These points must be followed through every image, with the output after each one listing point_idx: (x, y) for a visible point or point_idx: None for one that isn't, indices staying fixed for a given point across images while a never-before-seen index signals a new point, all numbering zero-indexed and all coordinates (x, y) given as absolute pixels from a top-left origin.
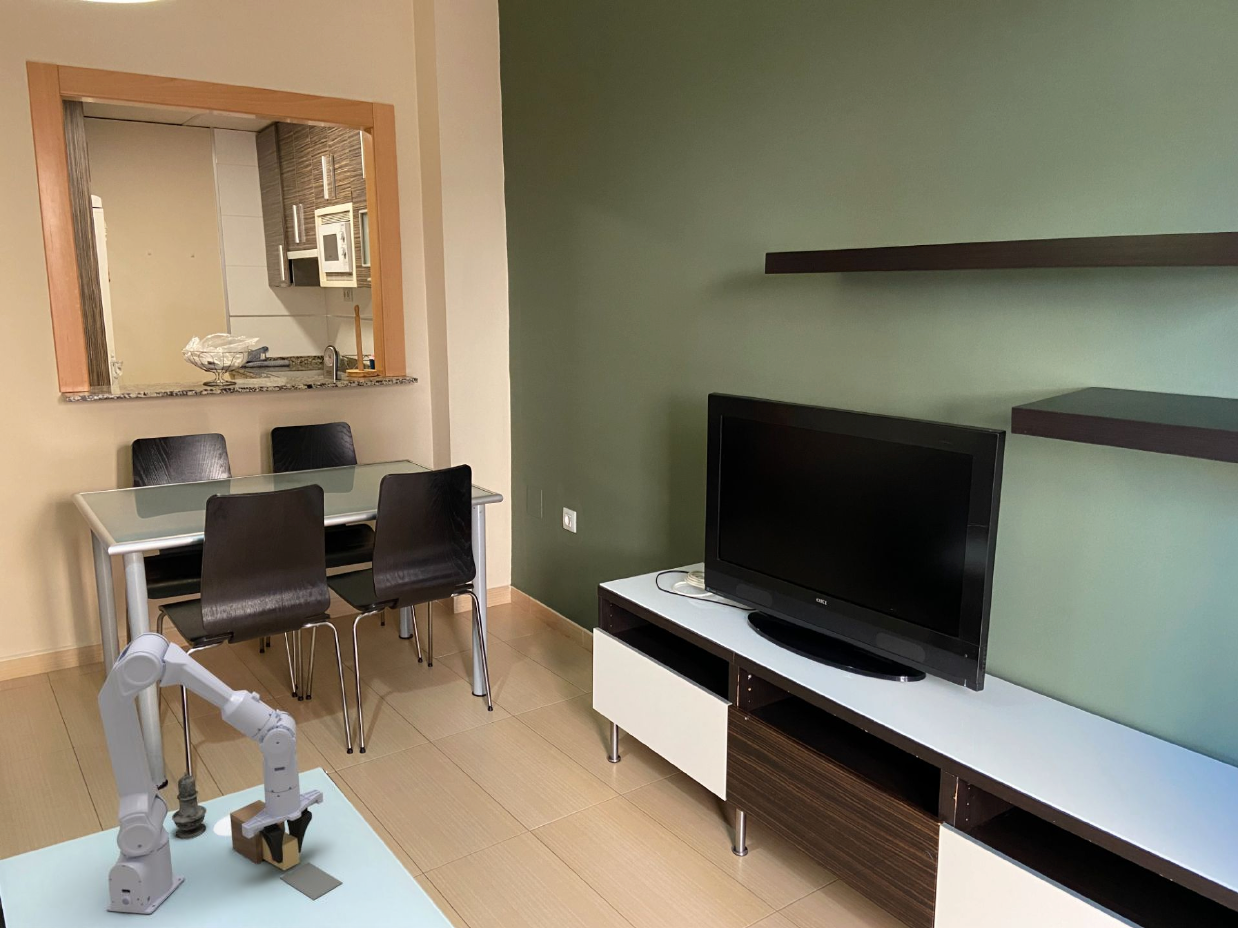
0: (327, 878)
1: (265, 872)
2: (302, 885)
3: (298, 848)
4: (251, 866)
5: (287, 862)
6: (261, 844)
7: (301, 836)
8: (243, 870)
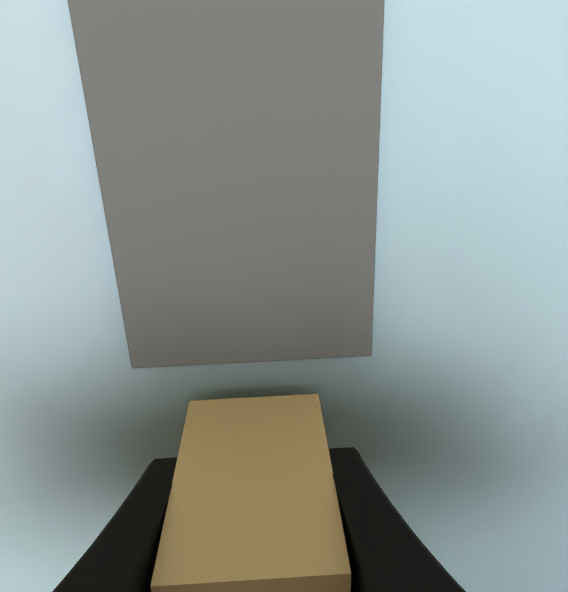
0: (124, 36)
1: (384, 470)
2: (326, 134)
3: (169, 484)
4: None
5: (289, 426)
6: None
7: (102, 580)
8: (445, 562)
